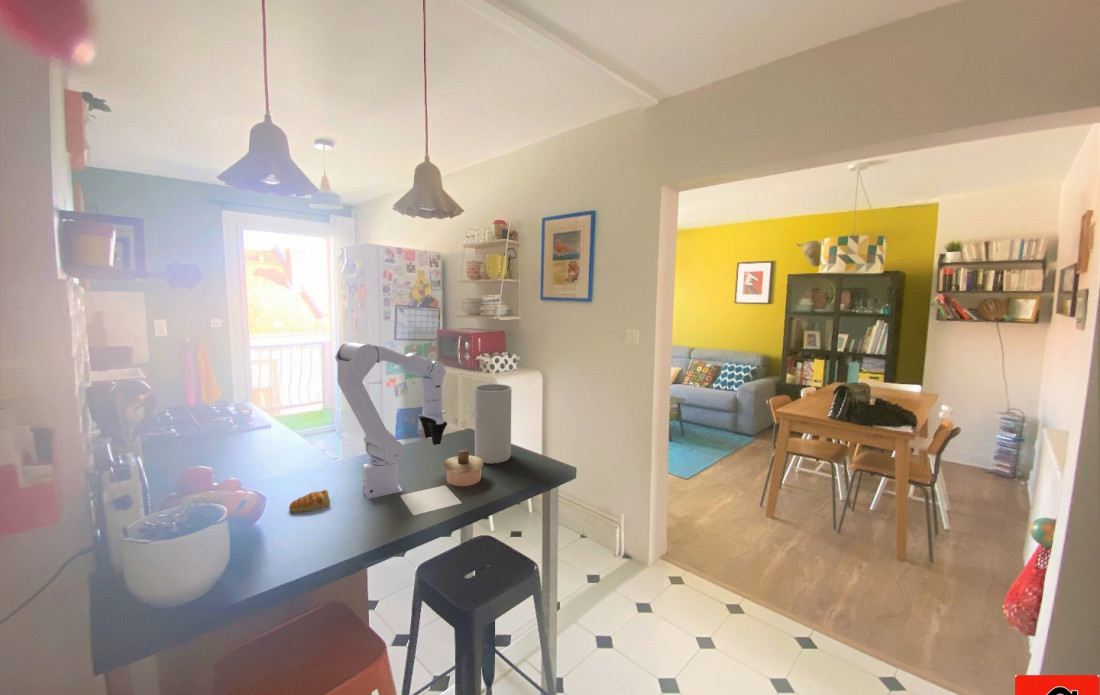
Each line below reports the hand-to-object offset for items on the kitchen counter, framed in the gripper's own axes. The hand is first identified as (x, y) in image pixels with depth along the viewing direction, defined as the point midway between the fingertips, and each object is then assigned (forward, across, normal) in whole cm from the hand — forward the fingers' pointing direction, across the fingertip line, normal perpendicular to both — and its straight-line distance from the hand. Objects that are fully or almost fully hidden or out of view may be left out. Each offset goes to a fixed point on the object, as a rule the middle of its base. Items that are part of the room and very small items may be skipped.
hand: (432, 440), depth 138 cm
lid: (+5, -11, -6) cm, 13 cm away
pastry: (+11, -6, +34) cm, 37 cm away
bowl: (+10, -11, -6) cm, 16 cm away
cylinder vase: (+11, +2, -22) cm, 25 cm away
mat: (+10, -19, +7) cm, 23 cm away
